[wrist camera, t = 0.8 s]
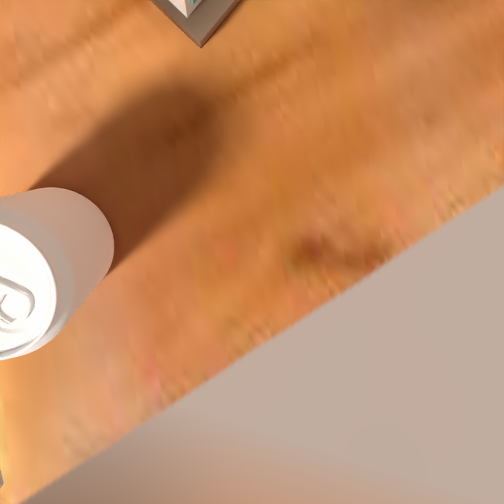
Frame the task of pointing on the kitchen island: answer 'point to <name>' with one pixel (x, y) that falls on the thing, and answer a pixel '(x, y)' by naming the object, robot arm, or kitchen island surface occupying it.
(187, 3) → the tall carton
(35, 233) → the beverage can
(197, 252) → the kitchen island surface
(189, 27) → the shelf board
